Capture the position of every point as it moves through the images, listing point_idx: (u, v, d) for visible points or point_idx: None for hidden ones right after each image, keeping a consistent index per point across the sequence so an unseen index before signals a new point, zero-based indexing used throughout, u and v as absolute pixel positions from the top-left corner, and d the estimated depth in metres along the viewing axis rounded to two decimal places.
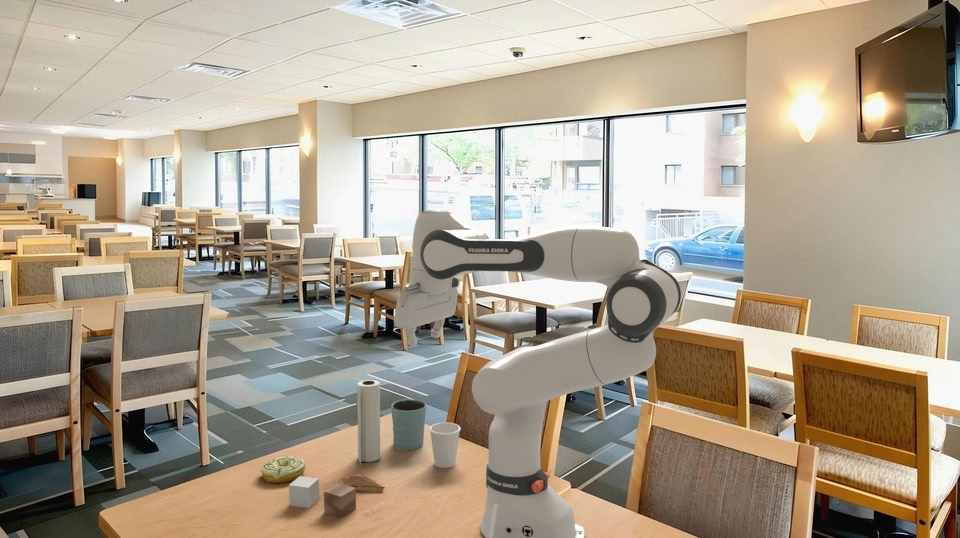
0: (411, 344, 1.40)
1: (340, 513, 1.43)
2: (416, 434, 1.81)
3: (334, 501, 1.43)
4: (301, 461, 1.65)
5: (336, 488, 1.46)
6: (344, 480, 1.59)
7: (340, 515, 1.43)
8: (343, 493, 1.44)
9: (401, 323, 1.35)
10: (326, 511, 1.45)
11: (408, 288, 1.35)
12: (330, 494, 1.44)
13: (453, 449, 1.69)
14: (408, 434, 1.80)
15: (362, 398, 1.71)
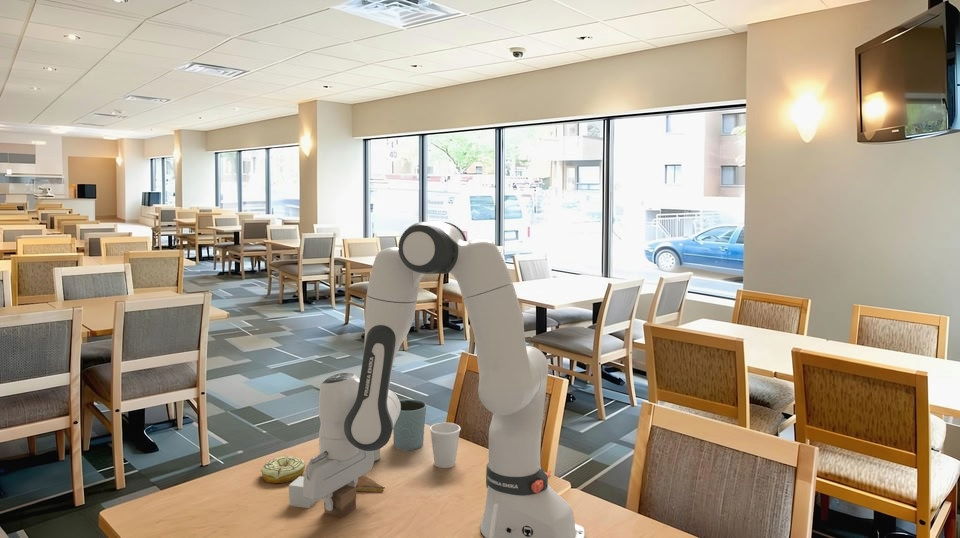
0: (329, 509, 1.42)
1: (340, 513, 1.43)
2: (416, 434, 1.81)
3: (334, 500, 1.43)
4: (301, 461, 1.65)
5: None
6: None
7: (340, 515, 1.43)
8: (343, 493, 1.44)
9: (309, 496, 1.36)
10: (326, 511, 1.45)
11: (314, 461, 1.37)
12: None
13: (453, 449, 1.69)
14: (408, 434, 1.80)
15: None
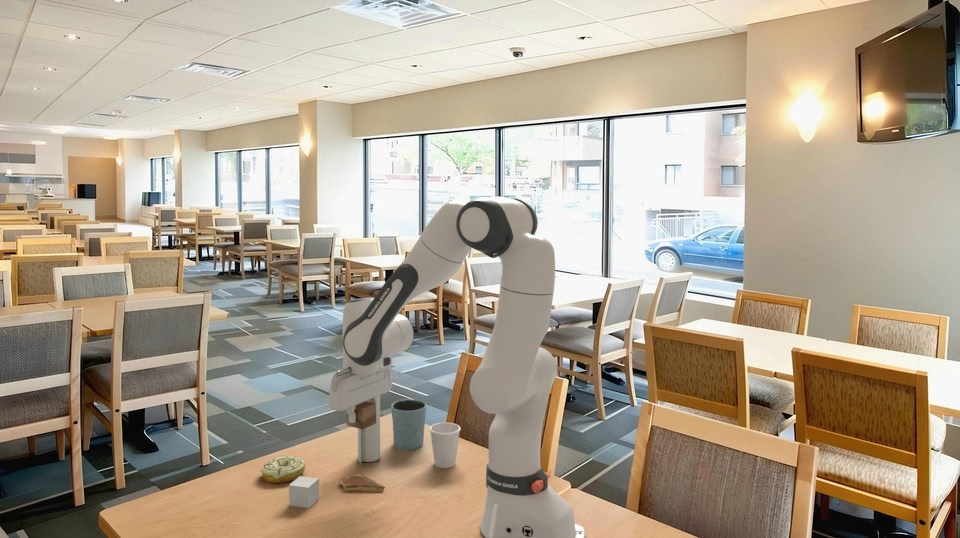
0: (352, 421, 1.54)
1: (362, 425, 1.54)
2: (416, 434, 1.81)
3: None
4: (301, 461, 1.65)
5: None
6: (344, 480, 1.59)
7: (362, 427, 1.54)
8: (365, 407, 1.55)
9: (334, 406, 1.48)
10: (349, 424, 1.56)
11: (339, 373, 1.48)
12: None
13: (453, 449, 1.69)
14: (408, 434, 1.80)
15: None
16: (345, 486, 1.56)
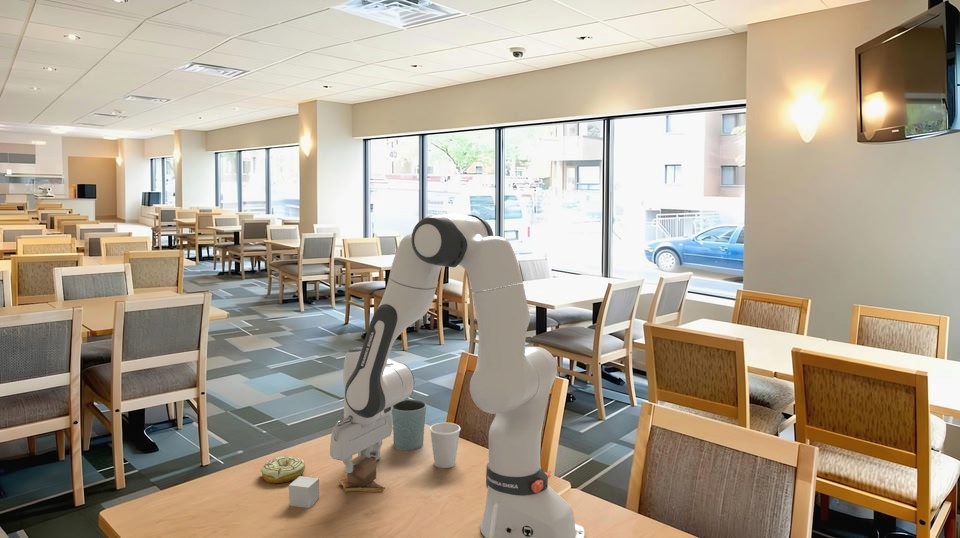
0: (349, 471, 1.54)
1: (362, 482, 1.56)
2: (416, 434, 1.81)
3: (356, 471, 1.56)
4: (301, 461, 1.65)
5: (358, 459, 1.59)
6: (344, 480, 1.59)
7: (362, 484, 1.56)
8: (365, 464, 1.57)
9: (336, 456, 1.49)
10: (349, 480, 1.58)
11: (340, 423, 1.50)
12: None
13: (453, 449, 1.69)
14: (408, 434, 1.80)
15: None
16: (345, 486, 1.56)
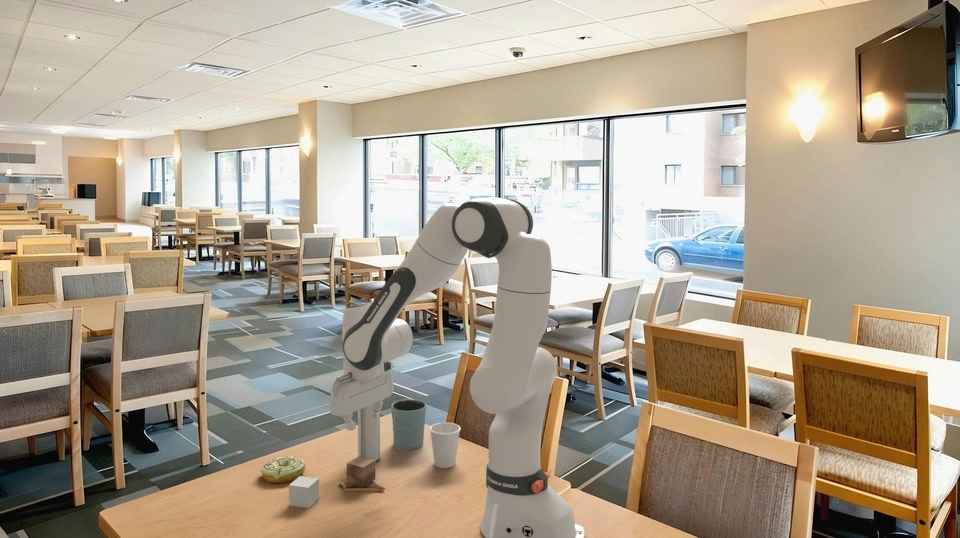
0: (350, 429, 1.52)
1: (362, 482, 1.55)
2: (416, 434, 1.81)
3: (356, 471, 1.56)
4: (301, 461, 1.65)
5: (357, 460, 1.59)
6: (344, 481, 1.59)
7: (362, 484, 1.56)
8: (364, 464, 1.56)
9: (336, 412, 1.48)
10: (349, 481, 1.57)
11: (339, 379, 1.48)
12: (352, 465, 1.56)
13: (453, 449, 1.69)
14: (408, 434, 1.80)
15: None
16: (345, 487, 1.56)
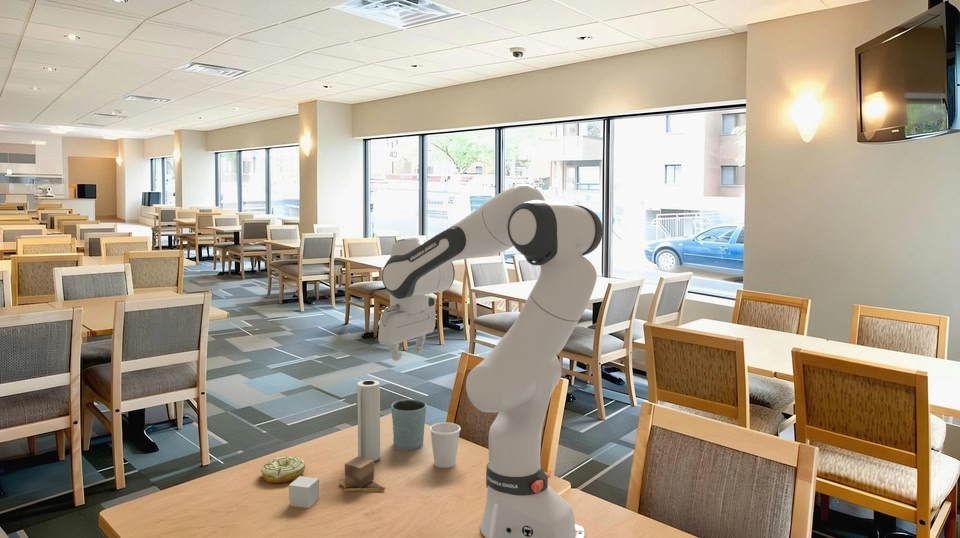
0: (396, 359, 1.58)
1: (359, 483, 1.55)
2: (416, 434, 1.81)
3: (354, 472, 1.56)
4: (301, 461, 1.65)
5: (356, 460, 1.59)
6: None
7: (359, 485, 1.55)
8: (362, 465, 1.56)
9: (384, 340, 1.53)
10: (347, 481, 1.57)
11: (388, 309, 1.53)
12: (350, 466, 1.56)
13: (453, 449, 1.69)
14: (408, 434, 1.80)
15: (362, 398, 1.71)
16: (346, 487, 1.56)
